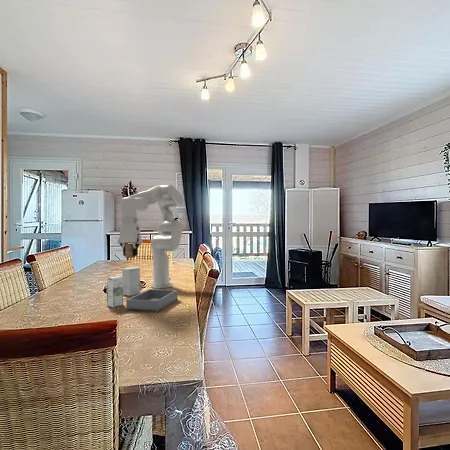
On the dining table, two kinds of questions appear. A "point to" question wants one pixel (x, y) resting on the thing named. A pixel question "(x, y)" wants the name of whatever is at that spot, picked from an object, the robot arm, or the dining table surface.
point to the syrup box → (115, 291)
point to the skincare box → (131, 281)
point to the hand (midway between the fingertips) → (130, 255)
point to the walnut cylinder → (129, 251)
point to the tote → (151, 300)
